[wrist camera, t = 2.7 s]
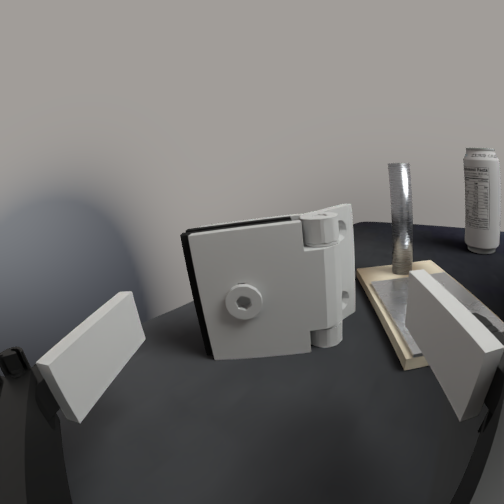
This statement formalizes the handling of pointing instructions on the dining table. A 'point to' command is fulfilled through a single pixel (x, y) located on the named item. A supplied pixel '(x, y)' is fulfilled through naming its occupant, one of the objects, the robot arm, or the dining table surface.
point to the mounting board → (396, 340)
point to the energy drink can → (482, 200)
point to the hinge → (272, 282)
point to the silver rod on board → (402, 257)
